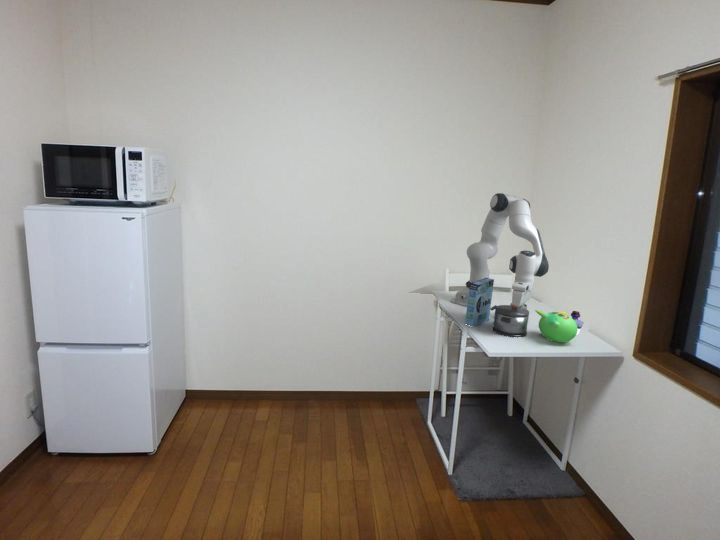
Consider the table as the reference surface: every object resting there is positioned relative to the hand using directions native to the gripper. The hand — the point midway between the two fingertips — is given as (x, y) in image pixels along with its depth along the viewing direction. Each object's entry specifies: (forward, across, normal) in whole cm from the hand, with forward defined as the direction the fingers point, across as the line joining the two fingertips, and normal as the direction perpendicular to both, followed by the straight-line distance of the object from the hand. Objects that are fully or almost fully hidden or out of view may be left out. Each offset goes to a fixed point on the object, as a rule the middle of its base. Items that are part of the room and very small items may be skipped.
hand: (520, 311), depth 219 cm
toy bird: (+12, -4, +17) cm, 21 cm away
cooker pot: (+12, 0, -4) cm, 12 cm away
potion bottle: (+12, -22, +22) cm, 33 cm away
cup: (+12, -20, -6) cm, 24 cm away
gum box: (+12, -4, -22) cm, 25 cm away
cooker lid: (+2, 0, -5) cm, 5 cm away
